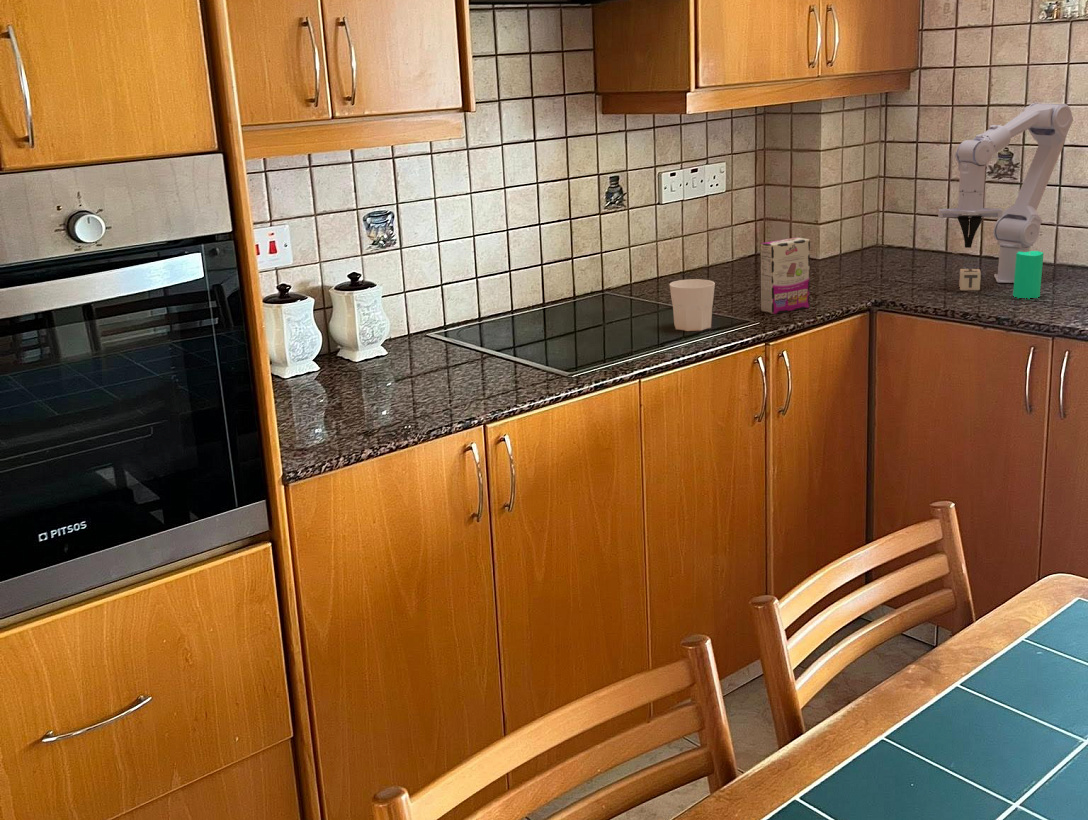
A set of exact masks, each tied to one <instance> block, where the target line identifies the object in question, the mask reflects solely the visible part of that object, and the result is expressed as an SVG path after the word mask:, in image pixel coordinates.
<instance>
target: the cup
mask: <svg viewBox="0 0 1088 820" xmlns="http://www.w3.org/2000/svg"><path fill="white" fill-rule="evenodd" d="M715 284H716V283H715V282H714V280H709V279H695V278H693V279H679V280H674V281H672V282H670V283H669V291H670V297H671V304H672V310H673V311H672V313H673V323H674V325H673V326H674V327H675V330H681V331H685V332H690V331H691V332H692V331H694V332H695V331H698V332H699V331H700V332H701V331H703V330H706V329H712V318H713V317H712V315H713V304H714V295H715V286H716V285H715Z"/></svg>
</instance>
